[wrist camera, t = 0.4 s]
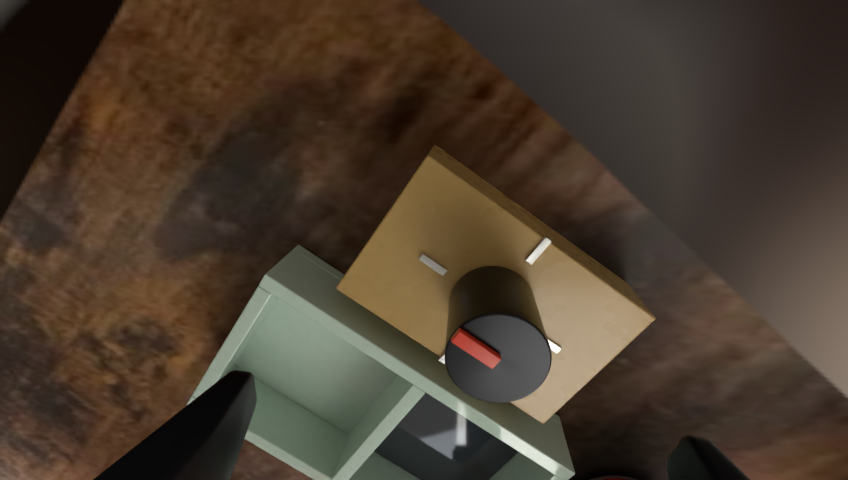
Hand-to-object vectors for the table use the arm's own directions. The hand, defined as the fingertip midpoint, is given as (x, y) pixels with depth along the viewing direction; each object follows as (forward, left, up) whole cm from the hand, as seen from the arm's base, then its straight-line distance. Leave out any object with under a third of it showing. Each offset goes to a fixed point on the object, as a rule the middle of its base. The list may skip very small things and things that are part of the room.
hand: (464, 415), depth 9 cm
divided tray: (-12, -3, -15) cm, 20 cm away
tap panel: (-2, -3, -15) cm, 15 cm away
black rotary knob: (-2, -3, -11) cm, 12 cm away
